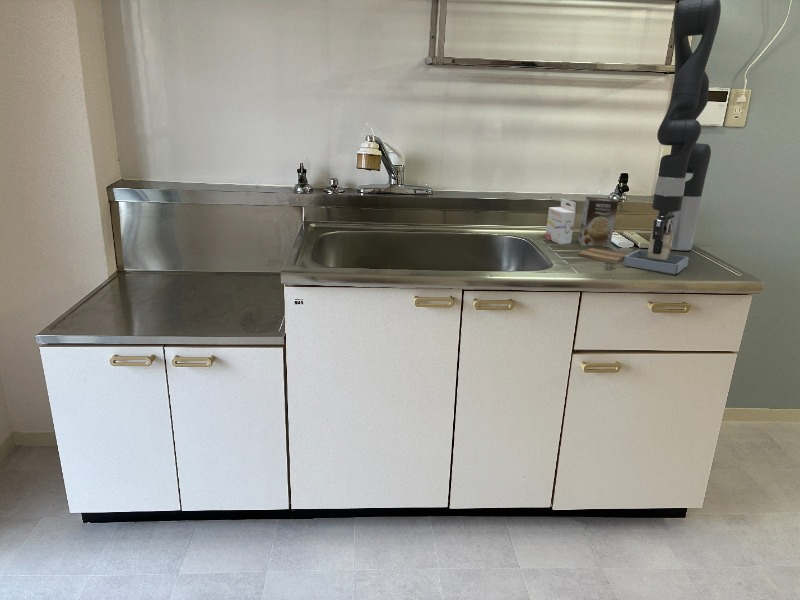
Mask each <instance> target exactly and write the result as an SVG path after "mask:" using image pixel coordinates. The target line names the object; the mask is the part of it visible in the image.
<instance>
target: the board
mask: <svg viewBox="0 0 800 600" xmlns="http://www.w3.org/2000/svg"><path fill="white" fill-rule="evenodd" d="M628 254H629V253H627V252H622V251H621V252H620V251H615V250H607V249H602V248H601V249H600V248H594V247H590V248H587V249H585V250H582V251H580V252H578V253H577V254H576V257H580V258H584V259H590V260H593V261H600V262H604V263H609V264H616V265H618V264H619V263H621V262H624V258H625V256H626V255H628Z"/></svg>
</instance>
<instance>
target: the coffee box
mask: <svg viewBox="0 0 800 600" xmlns="http://www.w3.org/2000/svg"><path fill="white" fill-rule="evenodd" d="M618 204H619V201H618V200H616V199H614V198H609V197H598V196H597V197H596V196H595V197H594V196H585V200H584V207H583V210H582V211H583V212H582V218H581V224H580V229H579V231H580V232H579V234H578V235H579V236H578V243H579V244H580V245H581V246H582V247H600V248H601V247H604V248H605V247H606V248H611V243H612V240H613V232H614V227H615V221H616V216H617V209H618Z"/></svg>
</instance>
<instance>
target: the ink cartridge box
mask: <svg viewBox="0 0 800 600" xmlns="http://www.w3.org/2000/svg"><path fill="white" fill-rule="evenodd" d="M567 204H568V205H567ZM576 205H577V203H576V202H575V201H572V200H569V199H565V198H563V197H562V198H560V206H554V207H553V206H552V207H551V206H550V207H548V213H547V221H546V229H545V236H544V239H546V238H547V239H546V240H548V241H551V240H552V242H554V243H557V244H559V245H565V244H571V243H572V238H573V233H574V232H573V231H574V224H575V219H576V209H577V208H576Z"/></svg>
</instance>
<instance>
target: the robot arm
mask: <svg viewBox="0 0 800 600" xmlns="http://www.w3.org/2000/svg"><path fill="white" fill-rule="evenodd" d="M721 10H722V5H721V0H679V2H678V3H677V4H676V6H675V8H674V13H673V41H674V42H673V43H674V46H673V47H674V76H673V79H674V80H673V83H672V88H671V89H672V90H671V94H670V95H671V96H670V101H669V103H668V104H669V105H668V108H667V110H666V113H665V115H664V118H663V119H662V122H661V123H660V124H659V128H658V130H657V134H656V137H657V140H658V143H659V144H661V145H662V146H668V147H669V146H671V148H670V154H665V155H663V156H662V157H661V158H660V160H659V167H658V173H657V179H656V182H655V187H654V194H653V198H652V199H653V200H652V206H651V207H652V208H651V209H652V210H654V211H658V215H657V216H655V219H654V220H653V231H652V232H653V236H652V239H654V240H655V241H654V246H653V253H654V254H661V251H662V245H663V240H664V235H665V234H667V232H669V233H673V239H672V245H671V250H675V251H691V250H692V249H693V243H694V238H695V232H696V228H697V222H698V218H699V217H698V216H699V212H700V205H701V199H702V196H703V195H702V194H703V190H704V186H705V180H706V178H707V177H706V176H707V172H708V168H709V164H710V161H711V154H712V149H711V146H710V145H709V144H708V143H700V142H699V143H698V140H699V138H700V135H701V133H702V125H701V123H700V121H699V120H697V119H698V118H699V116H700V115H701V114H702V113H703V111H704V110H705V108H706V106H707V105H708V102H709V88H710V80H709V79H710V78H709V76H708V74H707V72H706V71H705V70H706V68H707V64H708V61H709V58H710V55H711V51H712V48H713V45H714V42H715V38H716V34H717V31H718V28H719V23H720V20H721V14H722V13H721V12H722V11H721ZM692 36H701V37H700V40H699V43H698V45H697V47H696V48H695V50H693V51H694V52H693V51H692V48H691V43H690V41H689V37H692ZM687 174H692V175H691V178H690V179H688V180H686V175H687ZM658 233H660V236H658V235H657V234H658Z"/></svg>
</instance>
